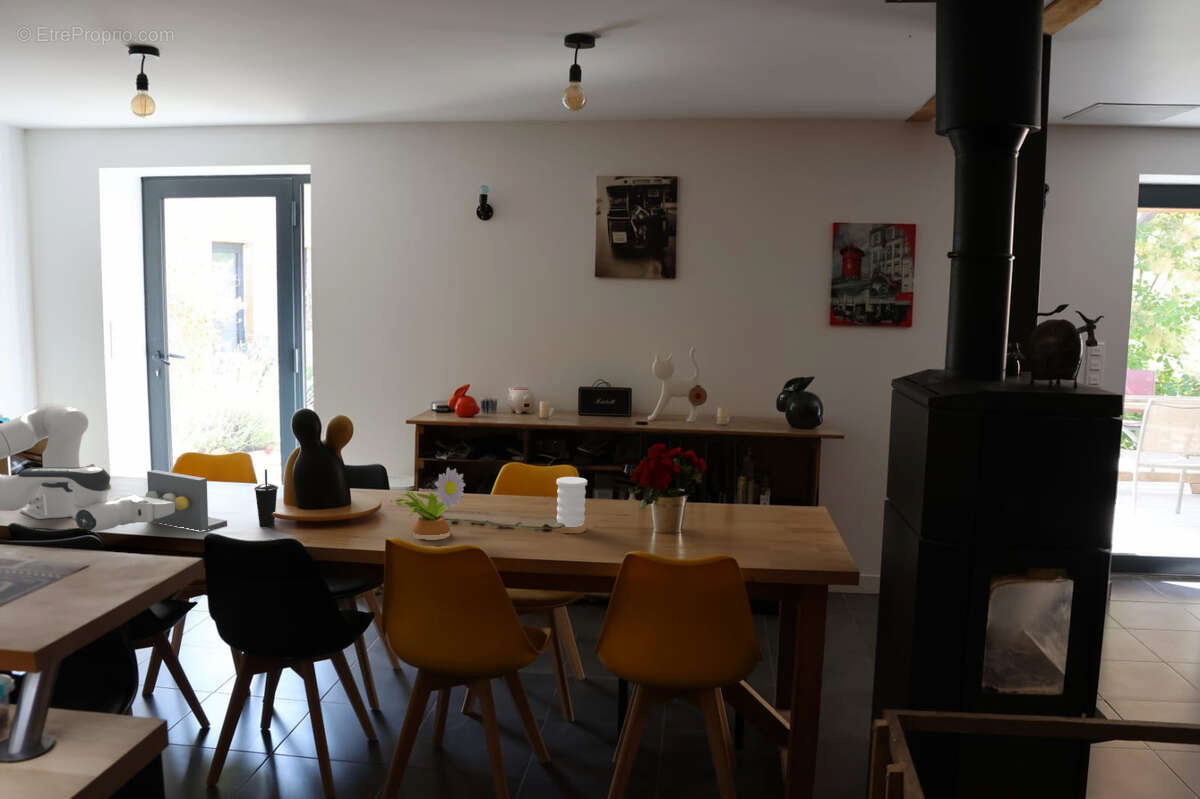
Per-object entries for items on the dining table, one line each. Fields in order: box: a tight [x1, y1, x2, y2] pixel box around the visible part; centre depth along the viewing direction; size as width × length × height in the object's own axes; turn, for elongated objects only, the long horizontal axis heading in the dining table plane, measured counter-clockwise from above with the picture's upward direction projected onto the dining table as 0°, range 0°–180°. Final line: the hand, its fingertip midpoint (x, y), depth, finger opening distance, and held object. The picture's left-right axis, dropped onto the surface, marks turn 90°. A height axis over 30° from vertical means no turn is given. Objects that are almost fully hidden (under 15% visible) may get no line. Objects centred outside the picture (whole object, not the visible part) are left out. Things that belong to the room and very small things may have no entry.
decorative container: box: [556, 476, 588, 527], centre depth 311 cm, size 12×12×18 cm
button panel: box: [146, 469, 228, 531], centre depth 303 cm, size 25×11×18 cm, turn 65°
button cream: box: [163, 493, 176, 502], centre depth 297 cm, size 4×2×4 cm, turn 65°
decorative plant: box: [390, 467, 466, 535], centre depth 300 cm, size 27×24×25 cm
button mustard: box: [174, 496, 189, 510], centre depth 293 cm, size 4×2×4 cm, turn 65°
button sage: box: [144, 491, 159, 498], centre depth 299 cm, size 4×2×4 cm, turn 65°
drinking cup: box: [253, 468, 279, 528], centre depth 303 cm, size 8×8×20 cm
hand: (167, 500), depth 296 cm, fingers closed, pressing on button cream
